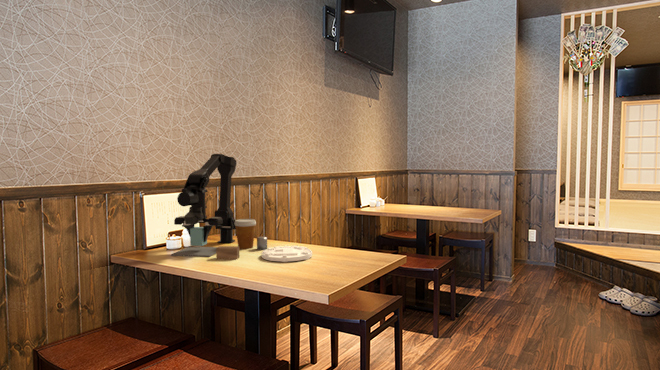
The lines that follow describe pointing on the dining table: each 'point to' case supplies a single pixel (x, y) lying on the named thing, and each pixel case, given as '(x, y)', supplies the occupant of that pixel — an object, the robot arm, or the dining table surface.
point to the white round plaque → (287, 253)
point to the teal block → (197, 236)
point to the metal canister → (261, 243)
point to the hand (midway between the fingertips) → (198, 241)
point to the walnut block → (227, 252)
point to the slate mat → (196, 251)
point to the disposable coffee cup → (245, 232)
